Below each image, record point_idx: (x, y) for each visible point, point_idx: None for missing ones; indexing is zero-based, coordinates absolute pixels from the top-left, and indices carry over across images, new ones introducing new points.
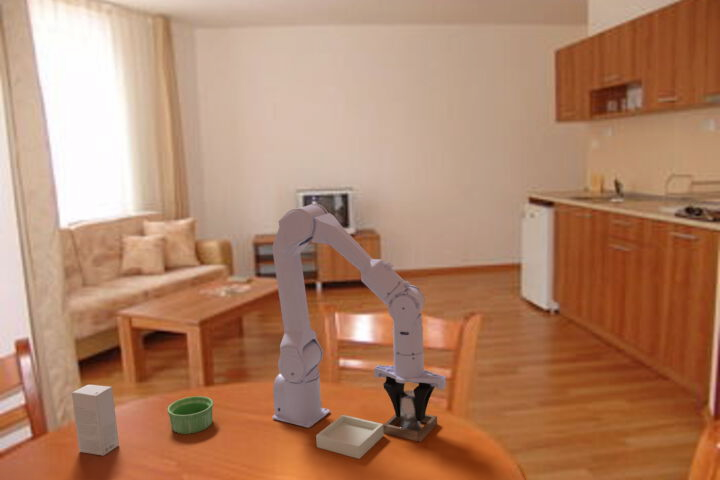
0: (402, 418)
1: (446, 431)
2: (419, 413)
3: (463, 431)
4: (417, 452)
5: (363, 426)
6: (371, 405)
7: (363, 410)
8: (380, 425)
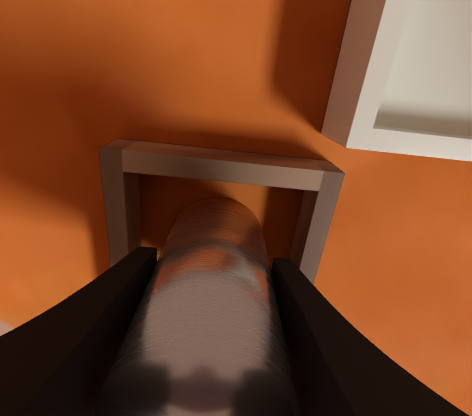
0: (242, 237)
1: (66, 264)
2: (112, 270)
3: (6, 283)
4: (80, 19)
5: (460, 135)
6: (428, 348)
7: (457, 309)
8: (360, 122)
